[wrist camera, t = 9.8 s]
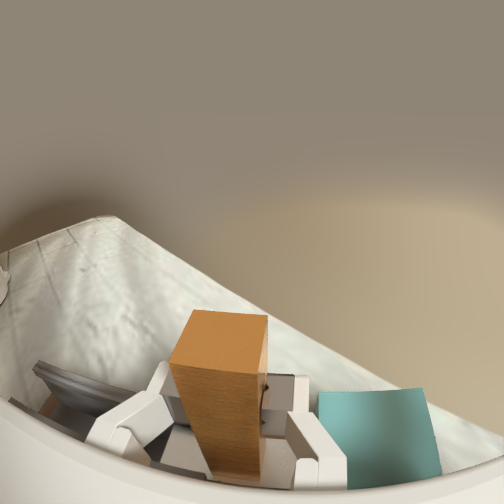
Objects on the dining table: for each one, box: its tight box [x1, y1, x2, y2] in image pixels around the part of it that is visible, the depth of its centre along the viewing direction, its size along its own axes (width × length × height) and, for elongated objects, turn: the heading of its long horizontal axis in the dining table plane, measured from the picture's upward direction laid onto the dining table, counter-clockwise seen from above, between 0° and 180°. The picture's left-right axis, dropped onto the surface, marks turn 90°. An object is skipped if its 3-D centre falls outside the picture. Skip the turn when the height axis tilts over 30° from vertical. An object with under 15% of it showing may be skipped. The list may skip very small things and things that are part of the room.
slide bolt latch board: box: [8, 360, 442, 490], centre depth 14 cm, size 28×10×8 cm, turn 82°
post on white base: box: [160, 310, 298, 491], centre depth 11 cm, size 12×3×12 cm, turn 82°
